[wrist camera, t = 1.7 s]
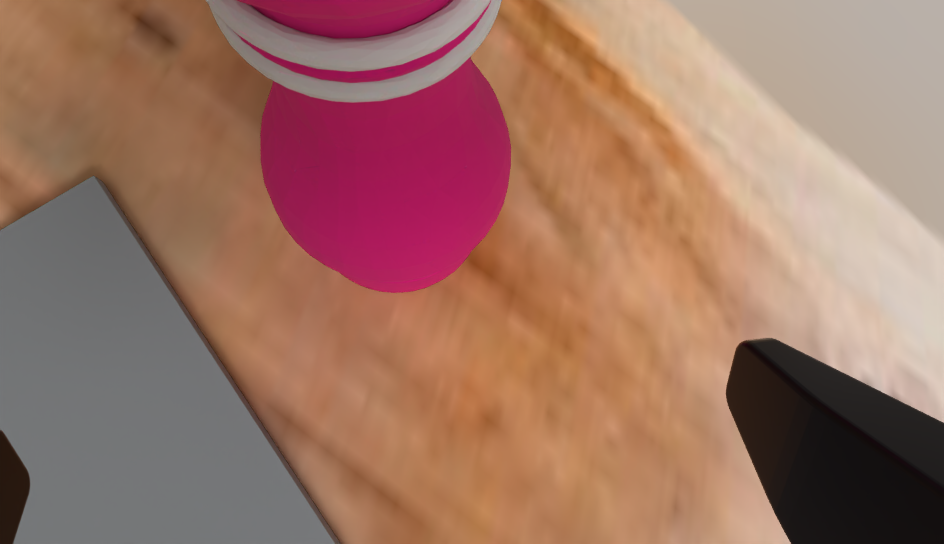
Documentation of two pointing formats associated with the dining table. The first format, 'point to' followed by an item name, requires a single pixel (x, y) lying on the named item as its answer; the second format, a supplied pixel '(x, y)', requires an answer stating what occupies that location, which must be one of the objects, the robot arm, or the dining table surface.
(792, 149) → the dining table surface
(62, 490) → the place mat
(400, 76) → the magenta pepper mill
